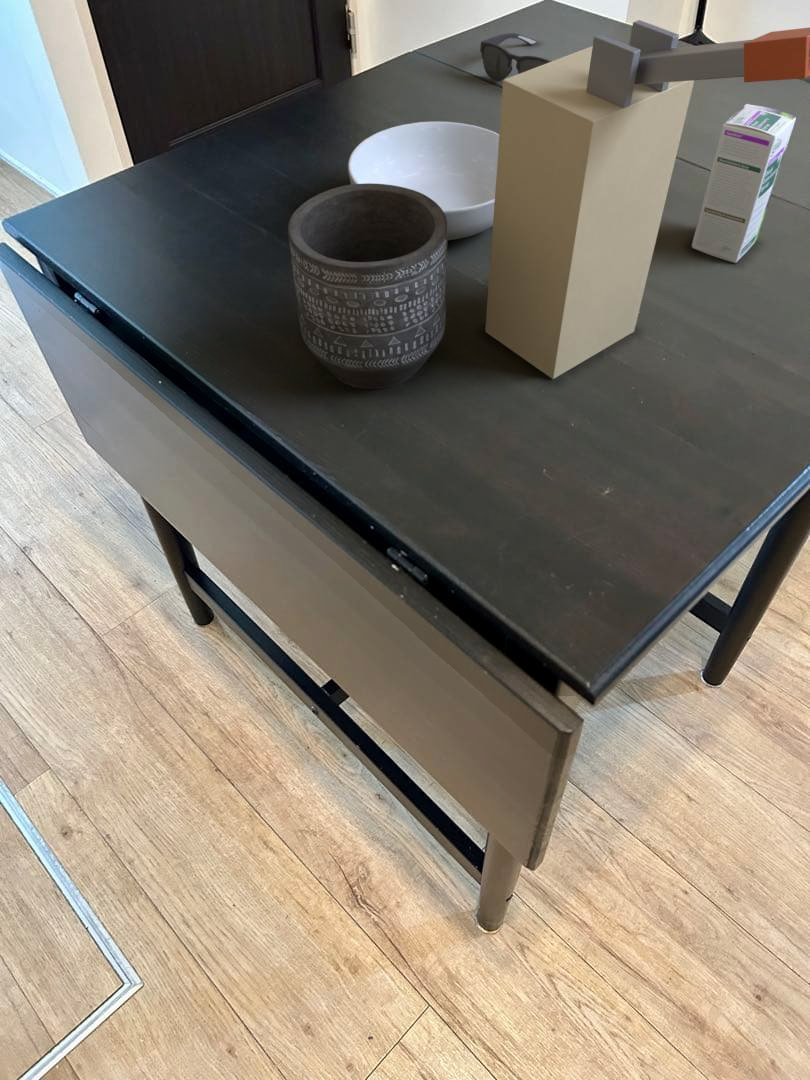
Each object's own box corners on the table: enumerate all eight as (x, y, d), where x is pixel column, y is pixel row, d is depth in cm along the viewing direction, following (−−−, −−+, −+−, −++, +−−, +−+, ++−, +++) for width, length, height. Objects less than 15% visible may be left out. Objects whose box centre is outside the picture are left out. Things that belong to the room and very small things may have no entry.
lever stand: (634, 331, 87) (708, 23, 65) (553, 379, 82) (602, 65, 60) (565, 289, 92) (611, -12, 70) (485, 331, 87) (506, 25, 65)
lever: (831, 66, 55) (834, 24, 53) (804, 78, 54) (806, 36, 52) (655, 79, 65) (653, 45, 64) (629, 90, 64) (627, 55, 63)
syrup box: (736, 264, 94) (779, 136, 83) (688, 248, 97) (723, 120, 85) (756, 242, 97) (800, 115, 86) (709, 226, 100) (745, 100, 88)
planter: (368, 300, 91) (360, 167, 80) (472, 350, 85) (480, 214, 74) (276, 365, 84) (253, 230, 73) (383, 425, 79) (376, 288, 67)
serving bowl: (345, 264, 96) (340, 208, 90) (357, 174, 109) (354, 120, 104) (526, 265, 95) (533, 208, 90) (516, 174, 108) (521, 120, 103)
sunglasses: (465, 74, 128) (469, 38, 124) (526, 53, 137) (531, 18, 134) (555, 103, 121) (562, 65, 117) (613, 79, 130) (621, 43, 127)
